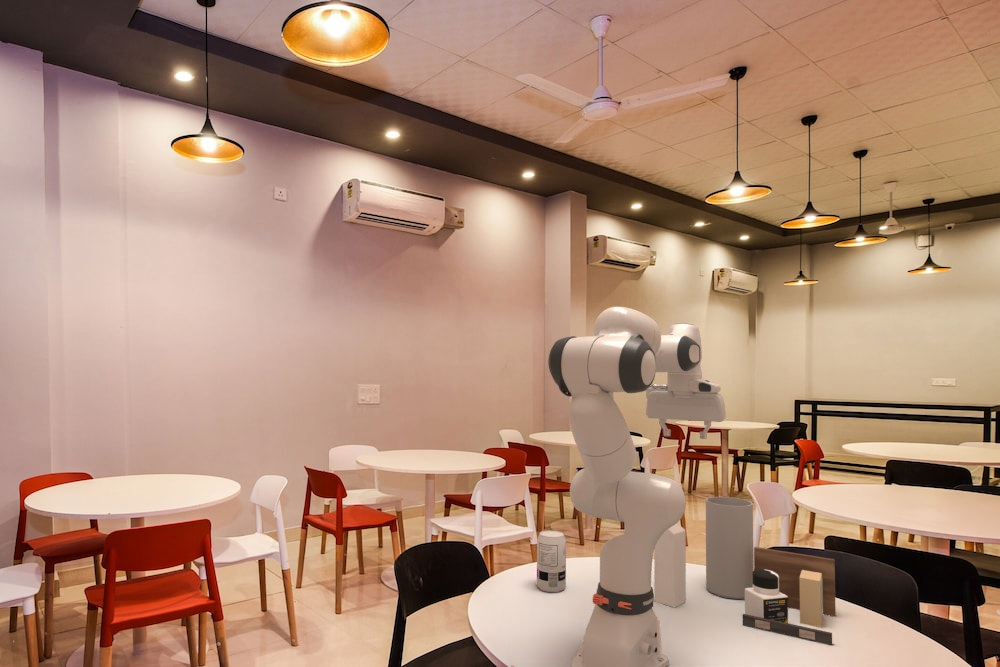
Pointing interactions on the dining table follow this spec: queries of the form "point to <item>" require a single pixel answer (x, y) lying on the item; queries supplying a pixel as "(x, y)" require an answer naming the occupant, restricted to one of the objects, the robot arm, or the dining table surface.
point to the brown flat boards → (795, 590)
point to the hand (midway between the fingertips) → (684, 437)
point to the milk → (670, 567)
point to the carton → (811, 598)
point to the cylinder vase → (729, 546)
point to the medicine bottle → (766, 597)
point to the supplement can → (551, 561)
